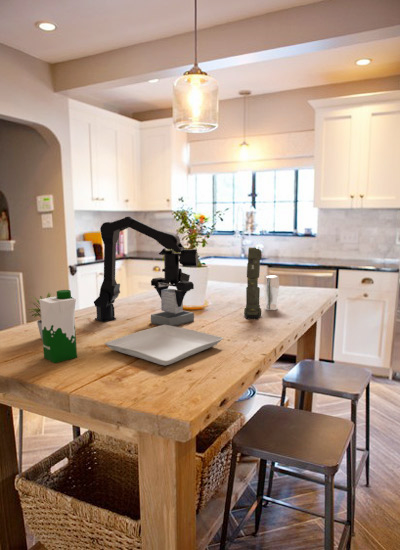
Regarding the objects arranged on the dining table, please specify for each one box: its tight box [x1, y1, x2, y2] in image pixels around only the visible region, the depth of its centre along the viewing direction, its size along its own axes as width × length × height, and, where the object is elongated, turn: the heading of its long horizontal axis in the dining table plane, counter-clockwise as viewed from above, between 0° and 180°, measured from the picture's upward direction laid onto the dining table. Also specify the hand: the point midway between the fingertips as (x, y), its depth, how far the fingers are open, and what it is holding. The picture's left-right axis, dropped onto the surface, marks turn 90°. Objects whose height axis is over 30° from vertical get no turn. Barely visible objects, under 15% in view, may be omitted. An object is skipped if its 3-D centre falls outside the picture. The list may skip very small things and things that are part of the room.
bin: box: [150, 310, 195, 327], centre depth 161 cm, size 14×11×4 cm
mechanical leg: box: [243, 247, 262, 320], centre depth 171 cm, size 14×7×30 cm, turn 168°
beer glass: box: [263, 274, 280, 311], centre depth 183 cm, size 7×7×15 cm
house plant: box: [28, 292, 57, 341], centre depth 141 cm, size 14×14×16 cm
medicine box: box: [160, 288, 184, 314], centre depth 160 cm, size 8×4×9 cm, turn 51°
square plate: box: [104, 325, 224, 366], centre depth 128 cm, size 27×27×4 cm
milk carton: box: [38, 289, 78, 364], centre depth 120 cm, size 9×9×20 cm
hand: (172, 305), depth 161 cm, fingers closed on medicine box, 8 cm apart
